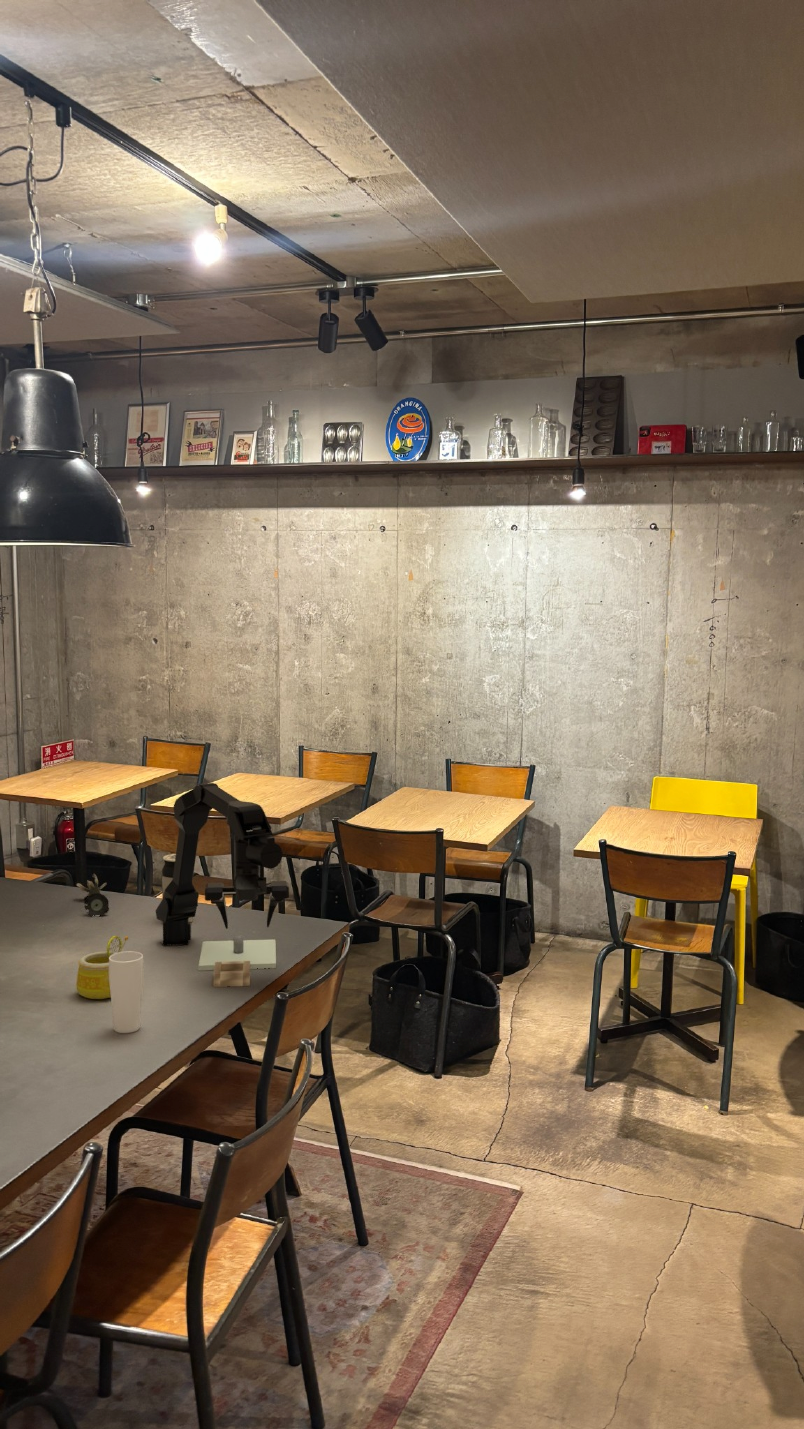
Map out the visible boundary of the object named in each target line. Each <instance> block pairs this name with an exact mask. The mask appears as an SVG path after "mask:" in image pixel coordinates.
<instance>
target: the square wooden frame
mask: <svg viewBox="0 0 804 1429" xmlns="http://www.w3.org/2000/svg"><path fill="white" fill-rule="evenodd" d="M212 980H213V983H212V984H213V988H221V987H222V988H226V987H227V986H230V987H250V986H251V985H250V984H251V969H250V961H233V962H215V967H214V970H213V979H212Z"/></svg>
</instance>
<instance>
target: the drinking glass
mask: <svg viewBox="0 0 804 1429" xmlns="http://www.w3.org/2000/svg"><path fill="white" fill-rule="evenodd" d="M144 964H145V963H144V954H143V953H141V952H139V951H130V950H128V951H126V950H124V951H121V952H119V953H117V952H116V953H115V954H113V955H111V956H110V957H109V985H110V994H111V998H110V1001H111V1003H110V1004H111V1015H112V1028H113V1030H114V1032H116V1033H118V1034H132V1033H135V1032H137V1031H138V1030H139V1029H140V1027H141V1025H142V1022H141V1020H142V1019H141V1018H142V1017H141V1016H142V1015H141V1014H142V1002H143V991H144V975H145V974H144V973H145V970H144V969H145V967H144V966H145V965H144Z"/></svg>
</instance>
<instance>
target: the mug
mask: <svg viewBox="0 0 804 1429" xmlns="http://www.w3.org/2000/svg"><path fill="white" fill-rule="evenodd" d="M114 939H115V941H114ZM123 940H124V941H122V939H121V938H120V936H118V935H113V936H112V937H111V938H110V939H109V941H108V943H107V946H106V951H105V950H104V951H97V952H91V953H88V954H85V955H84V956H82V957H81V958H80V959H79V960H78V962H77V963H78V970H77V975H76V991H77V992H78V994H79V996H81V997H84V998H85V999H93V1000H105V999H111V994H110V985H109V957H110V956H111V955H113V954H115V953H119V952H122V949H123V948H124V945H125V944H126V941H128V940H129V936H127V935H126V936H125V937H124V939H123ZM118 942H119V944H118ZM111 945H112V947H110V946H111ZM117 948H118V950H117Z"/></svg>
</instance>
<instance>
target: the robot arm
mask: <svg viewBox="0 0 804 1429" xmlns="http://www.w3.org/2000/svg"><path fill="white" fill-rule="evenodd" d="M212 809H213V810H214V811H216V812H217V813H219V814H220V815H222V816H223V817H225V818H226V824H227V826H228V827H229V828H230V829H231V830H232V833H230V836H229V837H230V839H233V841H234V842H233V848H234V851H233V852H234V853H233V854H234V861H233V863H234V864H233V866H234V873H233V875H234V879H233V886H224V882H222V881H221V882H220V881H219V882H208V883H206V885H205V887H204V900H205V901H207V902H209V901H210V904H212V905H215V906H216V907H217V909H218V911H219V912H220V915H221V919H222V921H223V924H224V927H225V929H227V930H228V929H229V918H228V911H227V910H228V909H227V902H226V896H235V900H236V901H239V902H243V901H251V902H253V901H254V902H255V901H257V900H258V898H259V895H269V898H268V906H267V914H266V928H269V927H270V924H271V921H272V918H273V916H274V912H275V910H276V907H277V906H278V904H279V903H282V902H284V899H290V887H289V883H288V881H287V880H271V881H270V882H271V883H270V884H271V885H267V877H266V876H264V877H262V876H260V875H261V867H262V868H265V869H268V870H269V869H275V868H276V867H278V866H279V865H280V863H281V862H282V859H283V854H284V852H283V851H282V848H281V845H279V844H278V843H276V841H275V837H273V831H272V826H271V824H270V823H269V820H268V818H267V815H266V812H265V811H264V809H263V807H262V806H261V805H260V804H258V803H254V802H252V801H243V800H240V799H238V798H236V797H235V796H233V795H232V794H230V793H228V792H227V791H225V790H223V789H222V788H221V787H219V785H218V784H217V783H214V782H205V783H200V784H199V783H198V784H197V785H195V786H194V787H193V788H192V789H191V790H189V791H187V792H185V793H183V794H182V795H180V796H179V797H178V798H176V799H175V801H174V804H173V819H174V820H175V822H176V824H177V826H178V836H177V843H176V844H177V845H176V849H175V850H176V851H175V854H176V857H175V865H174V873H173V880H172V881H171V882H170V884H169V885H168V886H167V887H166V889H165V891H164V895H163V900H162V899H161V900H160V903H159V904H158V906H157V907H156V909H155V916H156V919H157V920H159V922H162V942H161V946H187V945H189V943H190V941H191V939H192V922H189V918H190V917H193V918H195V917H196V913H197V907H198V906H199V903H198V902H199V896H200V894H199V892H198V891H197V890H196V887H195V886H194V884H192V882H194V881H193V880H194V873H195V866H196V858H197V852H198V845H199V837H200V831H201V830H202V828H203V827H204V826H205V825H206V824H207V822H208V820H209V818H210V813H211V811H212Z"/></svg>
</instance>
